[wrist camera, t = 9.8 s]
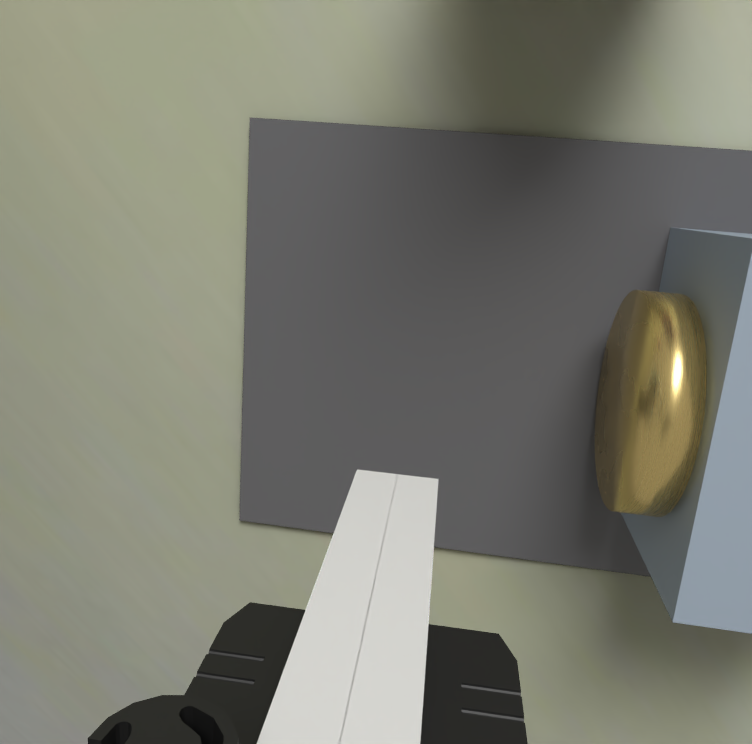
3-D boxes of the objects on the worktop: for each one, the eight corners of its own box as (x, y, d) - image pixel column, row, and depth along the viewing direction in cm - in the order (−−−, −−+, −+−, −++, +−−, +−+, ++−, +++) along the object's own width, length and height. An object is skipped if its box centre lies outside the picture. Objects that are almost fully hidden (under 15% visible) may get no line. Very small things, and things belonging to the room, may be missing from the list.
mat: (241, 517, 32) (239, 520, 32) (252, 118, 28) (249, 117, 28) (868, 603, 29) (872, 607, 29) (998, 167, 25) (1004, 167, 24)
